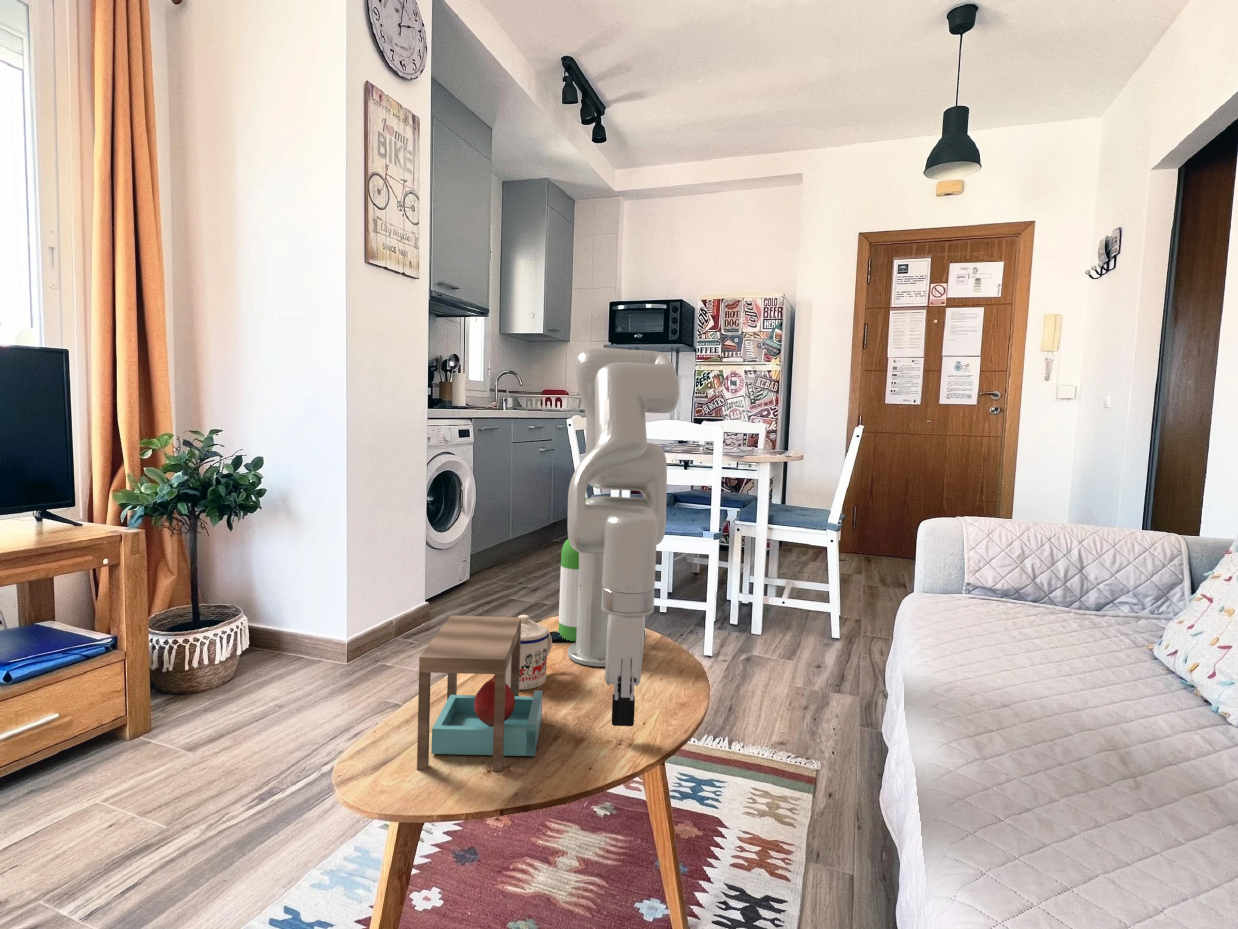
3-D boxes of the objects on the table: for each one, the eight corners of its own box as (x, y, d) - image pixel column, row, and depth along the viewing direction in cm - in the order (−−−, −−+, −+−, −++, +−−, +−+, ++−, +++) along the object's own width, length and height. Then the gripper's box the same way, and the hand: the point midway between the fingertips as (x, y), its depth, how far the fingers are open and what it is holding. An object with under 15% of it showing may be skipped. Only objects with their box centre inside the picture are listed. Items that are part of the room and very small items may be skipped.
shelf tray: (449, 717, 99) (450, 688, 99) (541, 719, 100) (542, 690, 99) (431, 753, 88) (432, 721, 88) (534, 756, 89) (535, 724, 88)
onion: (465, 728, 94) (466, 674, 93) (496, 715, 98) (497, 663, 98) (491, 742, 90) (492, 685, 89) (522, 728, 94) (523, 674, 94)
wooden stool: (448, 708, 103) (450, 615, 102) (518, 710, 103) (521, 617, 102) (416, 769, 85) (419, 657, 84) (501, 771, 85) (505, 659, 84)
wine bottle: (599, 634, 142) (604, 497, 140) (586, 645, 134) (591, 501, 132) (566, 629, 144) (571, 494, 142) (552, 639, 137) (557, 498, 135)
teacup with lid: (522, 696, 108) (524, 627, 108) (484, 681, 114) (486, 616, 113) (568, 674, 118) (570, 612, 118) (531, 662, 123) (533, 602, 123)
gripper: (602, 585, 101) (597, 700, 102) (601, 614, 86) (595, 748, 87) (650, 587, 101) (645, 702, 102) (657, 616, 86) (651, 750, 87)
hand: (622, 723), depth 94 cm, fingers closed
